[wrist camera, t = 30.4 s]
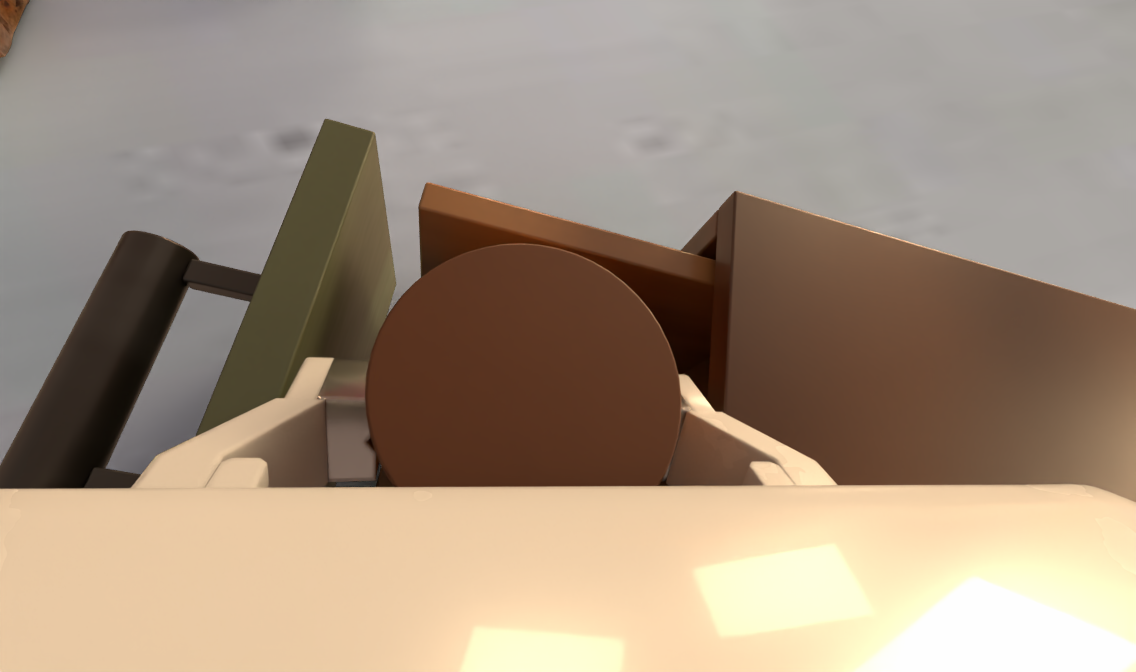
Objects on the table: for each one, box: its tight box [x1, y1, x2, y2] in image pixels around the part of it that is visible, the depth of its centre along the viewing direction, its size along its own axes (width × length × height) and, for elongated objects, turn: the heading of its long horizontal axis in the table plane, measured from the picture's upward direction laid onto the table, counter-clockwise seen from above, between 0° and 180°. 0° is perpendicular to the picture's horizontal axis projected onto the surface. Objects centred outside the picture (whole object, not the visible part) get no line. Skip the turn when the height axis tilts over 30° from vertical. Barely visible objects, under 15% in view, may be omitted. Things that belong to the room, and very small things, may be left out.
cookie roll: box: [365, 243, 681, 487], centre depth 12 cm, size 5×5×8 cm
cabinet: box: [681, 191, 1136, 502], centre depth 18 cm, size 15×14×11 cm
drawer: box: [0, 119, 716, 489], centre depth 15 cm, size 18×13×9 cm
